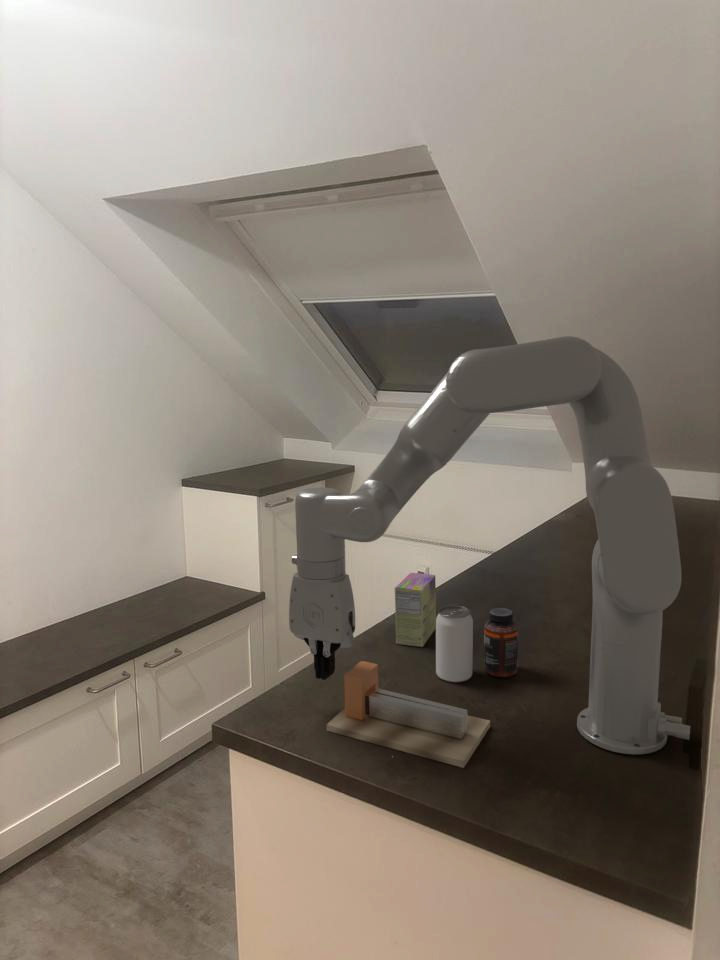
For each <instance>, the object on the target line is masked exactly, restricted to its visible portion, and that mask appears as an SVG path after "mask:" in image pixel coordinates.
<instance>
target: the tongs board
mask: <svg viewBox="0 0 720 960" xmlns="http://www.w3.org/2000/svg"><path fill="white" fill-rule="evenodd" d="M490 728H491V720H490V719H485V718H480V717H476V716H472V715H468V714H467V732H466V733H465V735H464V736H463V738H462V739H459V738H455V737H451V736H447V735H443V734H439V733H435V732H431V731H427V730H423V729H419V728H415V727H411V726H407V725H403V724H399V723H395V722H391V721H387V720H383V719H379V718H375V717H371V716H369V696H365V718H364V719H363V720H359V719H355V718H352V717H348V716H345V707H343V708H342V709H341V710H340V712H339V713H337V714H336V715H335V716H334V717H333V718H332V719H331V720H330V721H329V722H328V723H326V731H327V732H331V733H334V734H338V735H341V736H344V737H345V736H346V737H349V738H351V739H356V740H360V741H364V742H367V743H371V744H375V745H377V746H378V745H379V746H382V747H386V748H388V749H392V750H396V751H401V752H403V753H408V754H410V755H415V756H419V757H422V758H426V759H430V760H433V761H436V762H441V763H445V764H447V765H451V766H455V767H457V768H463V769H464V768H465V766H466V765H467V763H468V762H469V761H470V759H471V757H472V755H473V754H474V753H475V751H476V749H477V748H478V747H479V745H480V743H481V742H482V740H483V739H484V737H485V736H486V734H487V733H488V731H489V730H490Z"/></svg>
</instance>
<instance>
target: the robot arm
mask: <svg viewBox="0 0 720 960" xmlns="http://www.w3.org/2000/svg"><path fill="white" fill-rule="evenodd" d="M566 404H569V407H570V408H571V409H572V410H573V413H574V415H575V419H576V424H577V429H578V430H577V431H578V435H579V439H580V440H579V441H580V445H581V450H582V459H583V465H584V466H583V467H584V474H585V475H584V477H585V492H586V498H587V500H588V502H589V503H588V504H590V507H591V508H592V510H593V513H594V519H595V524H596V531H597V538H598V539H597V540H596V543H595V544H594V547H593V551H592V554H591V557H592V558H591V578H592V579H591V582H592V587H591V588H592V616H591V617H592V618H591V631H590V632H591V633H590V634H591V635H590V637H591V638H590V639H591V640H590V660H589V680H588V681H589V682H588V683H589V687H588V707H586V708H584V709H583V710H581V711H580V712H579V713H578V715H577V718H576V727H577V730H578V732H579V733H580V735H581V736H583V738H584V739H585V740H587V741H588V742H589V743H591V744H593V745H595V746H597V747H599V748H602V749H604V750H606V751H611V752H614V753H618V754H619V753H620V754H624V755H646V754H648V755H649V754H652V753H655V752H657V751H659V750H661V749H663V747H665V746H666V744H667V740H668V736H672V737H675V738H678V739H683V740H688V741H690V738H691V737H690V735H691V725H689V724H688V725H687V724H683V717H680V716H676V715H675V716H674V715H668V714H665V712H663V711H661V708H662V704H661V702H658V698H659V684H660V682H659V679H660V665H661V648H662V638H663V637H662V636H663V615H664V614H663V611H664V610H665V609H667V608H668V607H670V606H671V605H672V604H673V602H674V601H675V600H676V599H677V597H678V594H679V592H680V590H681V585H682V565H681V555H680V547H679V538H678V530H677V523H676V516H675V515H676V514H675V508H674V501H673V497H672V494H671V490H670V488H669V486H668V483H667V482H666V479H665V478H664V476H663V475H662V474H661V473H660V472H659V470H657V469H656V468H655V467H653V465H652V463H651V460H650V456H649V449H648V443H647V437H646V432H645V427H644V422H643V421H644V419H643V414H642V409H641V404H640V400H639V397H638V395H637V391H636V389H635V387H634V385H633V383H632V381H631V379H630V377H629V376H628V375H627V374H626V372H625V371H624V369H623V368H622V367H621V366H620V365H619V364H618V363H617V362H616V361H615V360H614V359H613V358H611V357H610V356H609V355H608V354H606V353H605V352H604V351H602V350H600V349H598V348H596V347H594V346H593V345H592V344H591V343H590V342H588V341H587V340H585V339H583V338H580V337H578V336H570V335H569V336H566V335H565V336H558V337H554V338H548V339H543V340H541V339H540V340H537V341H531V342H523V343H517V344H512V345H506V346H505V345H504V346H497V347H489V348H480V349H479V348H478V349H471V350H468V351H466V352H464V353H462V354H460V355H459V356H458V357H456V358H455V359H454V361H453V362H452V363H451V365H450V367H449V369H448V370H447V372H446V374H445V375H444V376H443V377H442V378H441V379H440V381H439V382H438V383H437V385H435V387H434V388H433V389H432V391H431V392H430V393H429V395H427V397H426V399H424V401H423V402H422V403H421V404H420V406H418V408H417V409H416V410H415V412H413V414H412V415H411V416H410V418H409V419H408V420H406V422H405V424H404V425H403V426H402V428H401V429H400V431H399V433H398V436H397V439H396V441H395V442H394V444H393V446H392V447H391V449H390V450H389V451H388V452H387V453H386V455H385V457H383V459H382V460H381V462H380V463H379V464H378V465H377V466H376V467H375V469H374V470H373V471H372V472H371V474H370V475H369V476H368V477H367V478H366V479H365V480H364V482H363V483H362V484H361V485H360V486H359V487H358V488H357V489H356V490H355V491H354V492H351V493H349V494H342V492H341V491H340V490H339V489H335V488H333V487H321V486H320V487H311V488H305V489H303V490H300V491H299V492H298V493H297V494H296V496H295V500H294V501H295V502H294V503H295V504H294V506H295V507H294V508H295V511H294V513H295V531H296V532H295V535H296V536H295V537H296V554H297V555H293V556H292V557H291V564H293V565H296V571H297V572H295V573H293V575H292V579H291V580H292V581H291V585H290V594H289V604H288V605H289V607H288V625H289V630H290V632H291V633H292V634H293V635H294V637H296V638H298V639H300V640H302V641H304V643H306V645H307V646H308V647H309V651H310V653H311V655H313V664H314V665H313V669H314V671H315V672H314V673H315V678H316V679H321V680H322V681H326V680H327V679H328V678H329V677H331V676H332V675H333V674H334V673H335V670H336V656H335V655H336V652H337V651H338V650H339V649H349V648H351V647H353V646H354V644H355V643H356V641H355V636H354V633H355V631H356V610H355V609H356V608H355V599H354V593H353V587H352V584H351V579H350V575H349V574H348V573H347V572H346V542H345V540H347V541H352V542H356V543H357V542H358V543H371V542H375V541H377V540H379V539H380V538H381V537H382V536H384V534H385V533H386V532H387V530H388V528H389V527H390V525H391V523H392V522H393V520H394V519H395V518H396V517H397V515H398V514H399V513H400V512H401V511H402V509H403V508H404V507H405V506H406V505H407V503H408V502H409V501H410V500H411V498H412V497H413V496H414V495H415V494H416V492H417V491H419V489H420V488H421V487H422V486H423V485H424V484H425V483H426V481H428V479H430V477H432V476H433V475H435V473H436V472H438V471H440V470H441V469H443V468H444V467H445V466H446V465H448V463H449V462H450V460H452V458H454V457H455V455H456V453H458V451H459V450H460V449H461V448H462V446H464V444H465V443H466V442H467V441H468V440H469V438H470V437H471V436H472V435H473V434H474V432H476V430H477V429H478V428H479V427H480V426H481V425H482V423H483V422H484V421H485V420H486V419H487V417H489V415H490V414H495V413H496V414H497V413H504V412H506V413H507V412H513V411H519V410H528V409H535V408H543V407H544V408H545V407H549V406H558V405H566Z"/></svg>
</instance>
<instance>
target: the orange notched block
mask: <svg viewBox="0 0 720 960" xmlns="http://www.w3.org/2000/svg"><path fill="white" fill-rule="evenodd" d="M343 677H344V678H343V679H344V680H343V681H344V682H343V683H344V708H345V716H348V717H352V718H355V719H359V720H363V719H364V718H365V696H369V695H370V694H371V693H372V692H373V693H374V691H375V690H376V689H377V688H379V664H377V663H373V662H369V661H363V660H361V661H359V662H358V663H356V664H355V666H353V667H352V668H351V669H350V670H348V671H347V672H346V673H345V674H344V676H343Z"/></svg>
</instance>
